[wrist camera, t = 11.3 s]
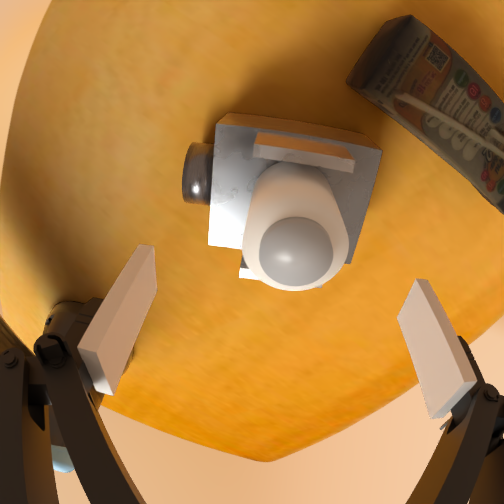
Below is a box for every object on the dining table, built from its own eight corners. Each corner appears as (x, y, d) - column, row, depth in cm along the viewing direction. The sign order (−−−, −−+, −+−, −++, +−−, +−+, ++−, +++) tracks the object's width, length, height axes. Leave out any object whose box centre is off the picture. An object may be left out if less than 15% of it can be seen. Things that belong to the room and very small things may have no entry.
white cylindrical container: (248, 229, 25) (236, 293, 19) (255, 155, 22) (244, 198, 15) (323, 238, 25) (336, 304, 19) (338, 167, 22) (363, 214, 15)
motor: (196, 210, 31) (166, 268, 23) (202, 110, 26) (164, 132, 18) (339, 229, 31) (358, 294, 23) (363, 133, 26) (401, 167, 17)
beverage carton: (477, 195, 28) (508, 224, 22) (338, 83, 24) (355, 88, 18) (513, 141, 24) (550, 161, 18) (381, 17, 20) (408, 5, 14)
